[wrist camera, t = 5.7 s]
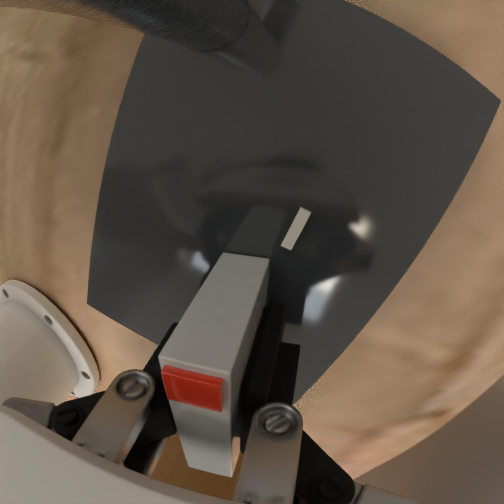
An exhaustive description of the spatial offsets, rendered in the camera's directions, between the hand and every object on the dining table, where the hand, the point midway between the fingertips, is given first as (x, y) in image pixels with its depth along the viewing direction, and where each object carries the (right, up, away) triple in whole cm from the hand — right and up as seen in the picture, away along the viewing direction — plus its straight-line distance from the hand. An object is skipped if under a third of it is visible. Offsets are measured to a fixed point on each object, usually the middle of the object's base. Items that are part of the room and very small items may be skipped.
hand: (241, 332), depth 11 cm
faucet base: (+1, +6, +1) cm, 6 cm away
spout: (0, +12, -5) cm, 13 cm away
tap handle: (0, 0, 0) cm, 0 cm away
